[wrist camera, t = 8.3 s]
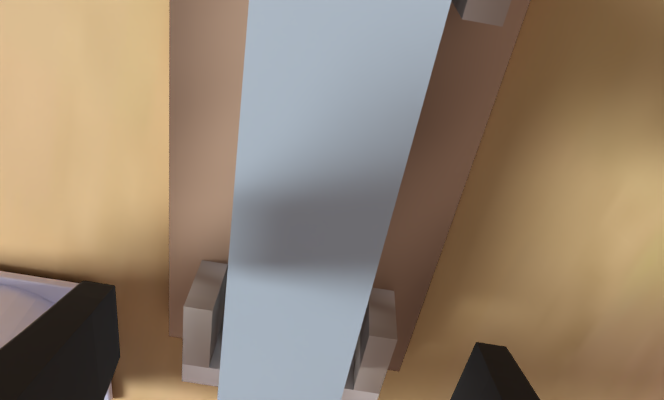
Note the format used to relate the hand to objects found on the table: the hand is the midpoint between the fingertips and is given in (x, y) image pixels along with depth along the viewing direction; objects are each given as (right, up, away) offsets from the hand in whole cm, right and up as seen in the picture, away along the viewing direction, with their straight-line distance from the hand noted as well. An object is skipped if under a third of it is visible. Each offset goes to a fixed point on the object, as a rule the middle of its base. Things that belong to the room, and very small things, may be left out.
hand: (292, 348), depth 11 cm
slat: (0, +5, +7) cm, 8 cm away
